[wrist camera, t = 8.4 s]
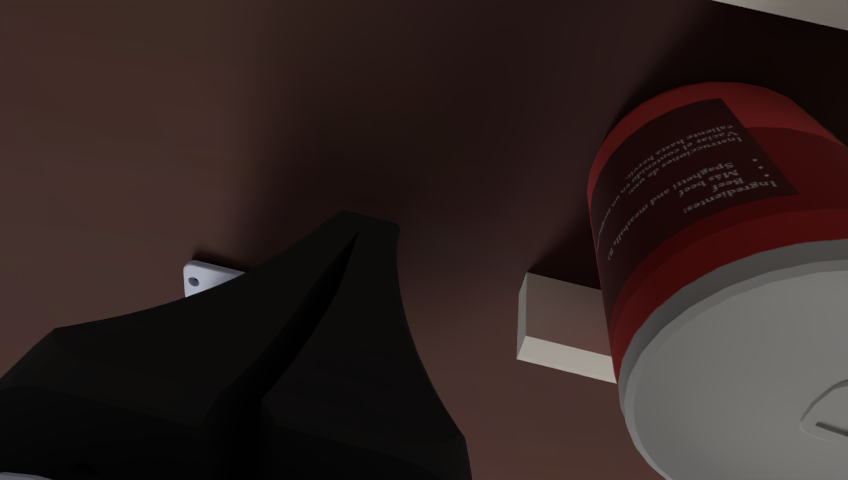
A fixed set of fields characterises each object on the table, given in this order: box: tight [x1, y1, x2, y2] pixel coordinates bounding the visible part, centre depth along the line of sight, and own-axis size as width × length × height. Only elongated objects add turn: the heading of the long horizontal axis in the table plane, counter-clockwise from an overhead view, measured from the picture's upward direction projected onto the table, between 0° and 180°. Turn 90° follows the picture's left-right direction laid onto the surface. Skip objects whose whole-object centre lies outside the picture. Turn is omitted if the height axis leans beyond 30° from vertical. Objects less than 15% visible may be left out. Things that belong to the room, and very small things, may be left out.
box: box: [517, 0, 848, 384], centre depth 19 cm, size 14×13×4 cm
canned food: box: [587, 82, 848, 480], centre depth 17 cm, size 8×8×11 cm
